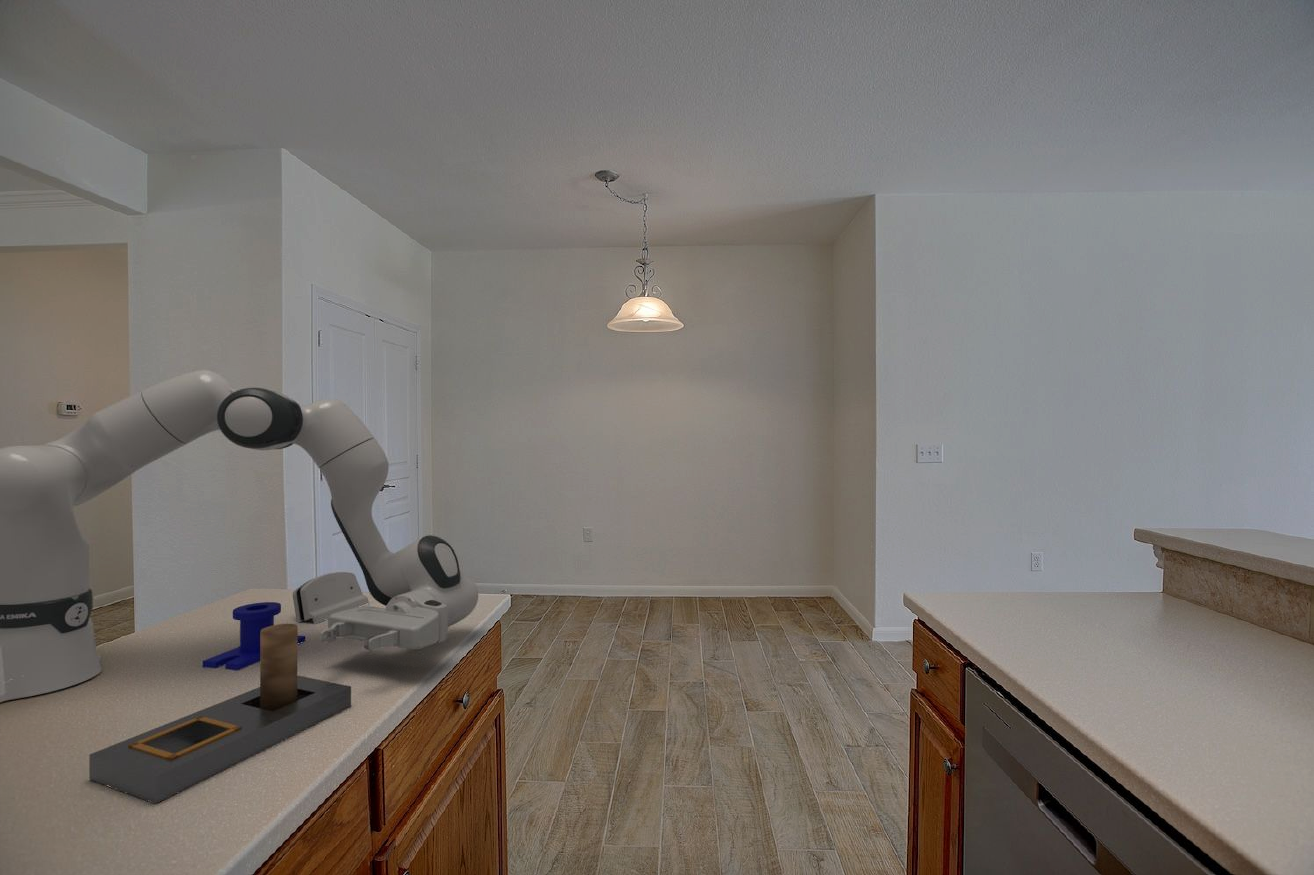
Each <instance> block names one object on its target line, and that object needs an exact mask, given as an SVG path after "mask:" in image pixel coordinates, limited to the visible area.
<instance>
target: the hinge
mask: <svg viewBox="0 0 1314 875" xmlns="http://www.w3.org/2000/svg"><path fill="white" fill-rule="evenodd" d="M292 599H293V600H292V601H293V606H294V613H295V619H296V623H297V622H299V623H301V622H305V621H309V620H310V619H311V620H312V622H313V624H314V623H317V622H320V623H323V622H325V621H324V620H325V619H328V618H329V616H330V615H331V614H333V613H336V612H340V611H344V610H348V609H352V608H356V607H359V606H362V605H365V604H367V603H369V604H370V602H369V598H368V596H366V595H364V594H363V591H362V589H361V587H360V584H359V582H358V579H357V577H356V575H355V573H353V572H346V571H338V572H331V573H326V574H325V573H324V574H322V575H319V576H316V577H313V578H312V579H310V580H308V581H306V582H305V583H303V584H301V585H300V586H299V587H297V588H296V589H295V590H294V591H293V592H292ZM322 621H323V622H322Z"/></svg>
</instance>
